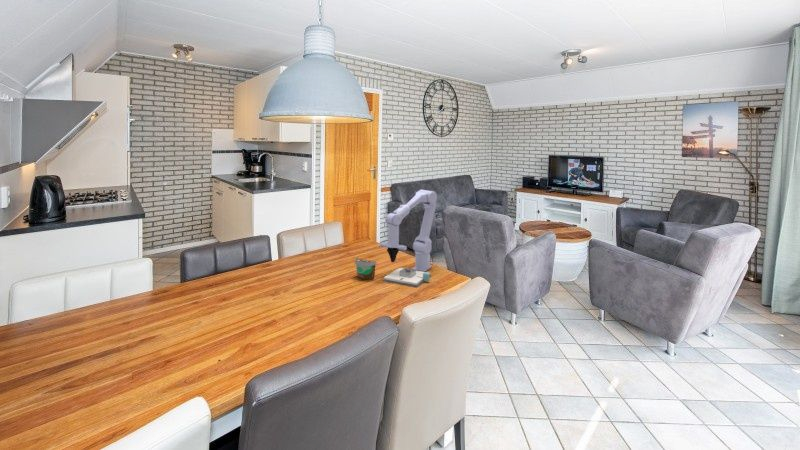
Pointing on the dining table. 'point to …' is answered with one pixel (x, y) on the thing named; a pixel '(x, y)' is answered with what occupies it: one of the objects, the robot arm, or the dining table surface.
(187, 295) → the dining table surface
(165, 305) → the dining table surface
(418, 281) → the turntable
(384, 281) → the susan base
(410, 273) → the cover
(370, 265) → the food container
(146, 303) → the dining table surface
